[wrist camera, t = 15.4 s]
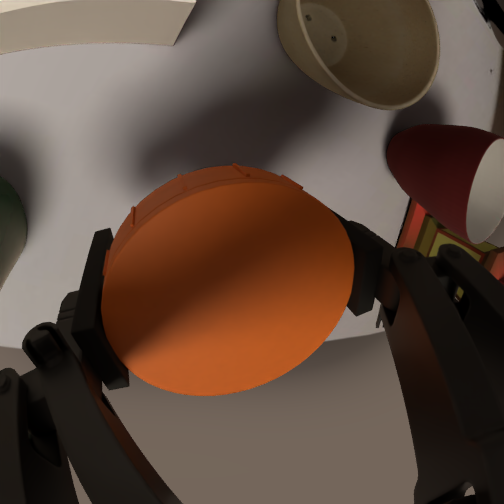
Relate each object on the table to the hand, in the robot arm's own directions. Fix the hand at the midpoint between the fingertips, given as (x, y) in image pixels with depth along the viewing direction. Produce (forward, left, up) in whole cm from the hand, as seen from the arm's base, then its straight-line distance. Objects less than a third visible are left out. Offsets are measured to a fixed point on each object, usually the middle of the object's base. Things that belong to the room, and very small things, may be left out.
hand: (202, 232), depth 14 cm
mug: (0, +20, -6) cm, 21 cm away
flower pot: (-10, +10, -6) cm, 16 cm away
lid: (0, 0, +6) cm, 6 cm away
